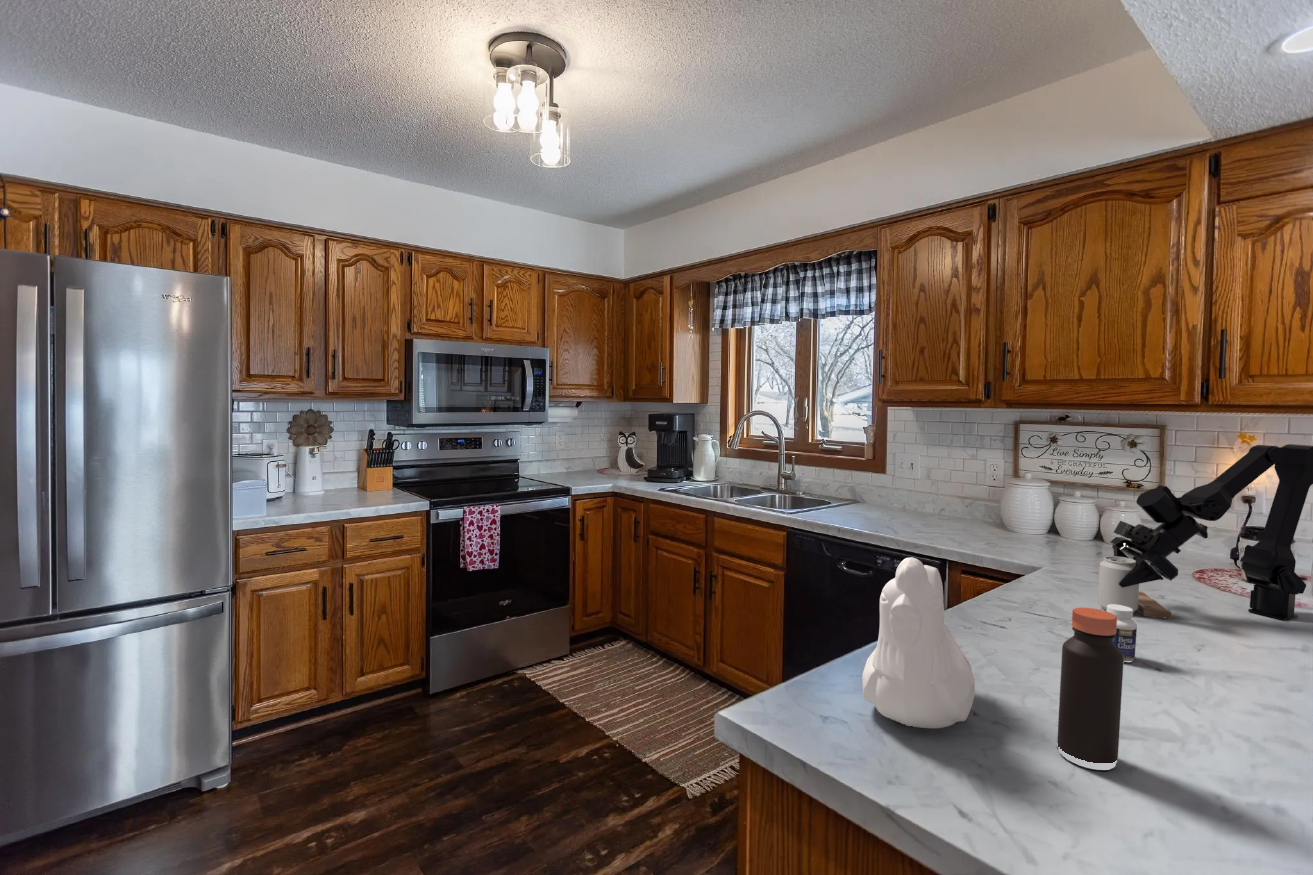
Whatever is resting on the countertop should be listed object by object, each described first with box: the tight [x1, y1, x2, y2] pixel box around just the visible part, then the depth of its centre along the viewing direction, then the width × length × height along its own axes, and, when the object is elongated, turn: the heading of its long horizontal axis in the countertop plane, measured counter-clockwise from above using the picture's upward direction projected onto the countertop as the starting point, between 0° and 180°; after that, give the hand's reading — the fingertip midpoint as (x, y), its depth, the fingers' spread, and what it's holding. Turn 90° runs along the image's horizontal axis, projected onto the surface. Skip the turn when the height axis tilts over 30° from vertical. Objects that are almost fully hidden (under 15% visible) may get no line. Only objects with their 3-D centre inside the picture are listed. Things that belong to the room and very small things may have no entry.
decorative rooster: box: [861, 556, 976, 729], centre depth 98 cm, size 25×16×25 cm, turn 135°
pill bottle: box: [1106, 604, 1138, 661], centre depth 119 cm, size 5×5×10 cm
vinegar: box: [1056, 607, 1124, 763], centre depth 85 cm, size 7×7×20 cm
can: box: [1097, 555, 1140, 613], centre depth 147 cm, size 8×8×12 cm
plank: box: [1136, 591, 1172, 619], centre depth 150 cm, size 16×5×2 cm, turn 161°
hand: (1111, 580), depth 147 cm, fingers closed on can, 7 cm apart
